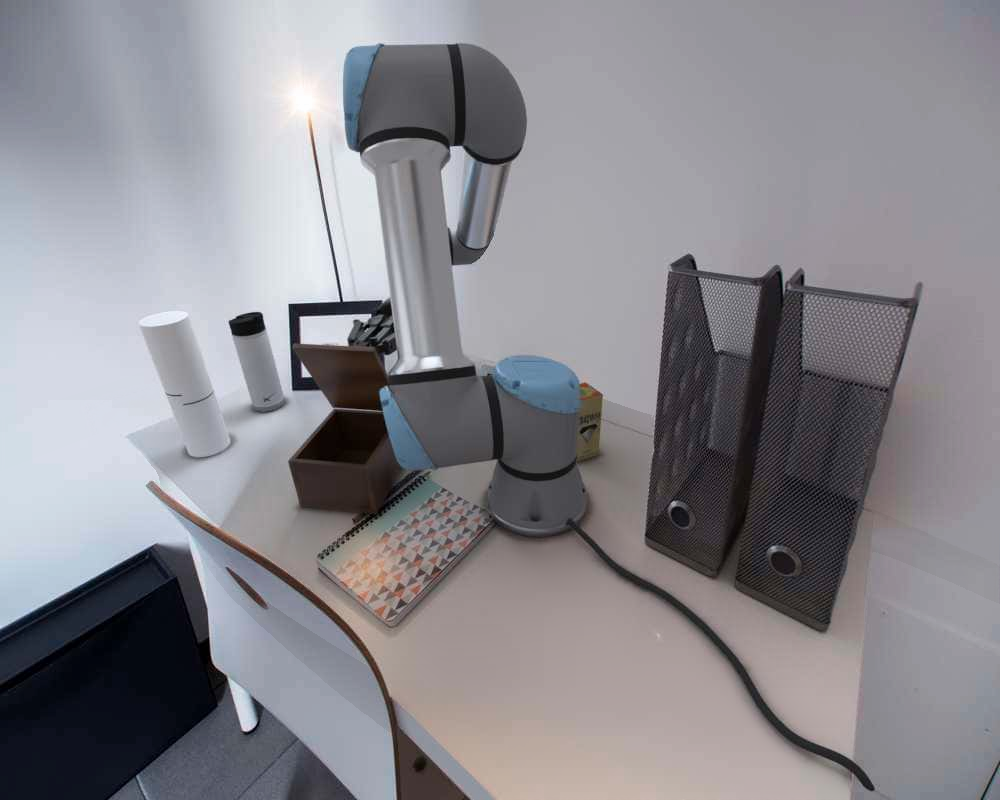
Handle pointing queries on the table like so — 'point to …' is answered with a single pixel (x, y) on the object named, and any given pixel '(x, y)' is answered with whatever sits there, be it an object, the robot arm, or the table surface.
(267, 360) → the travel mug
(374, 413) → the keepsake box
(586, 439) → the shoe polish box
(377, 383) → the lid
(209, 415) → the cylindrical container
